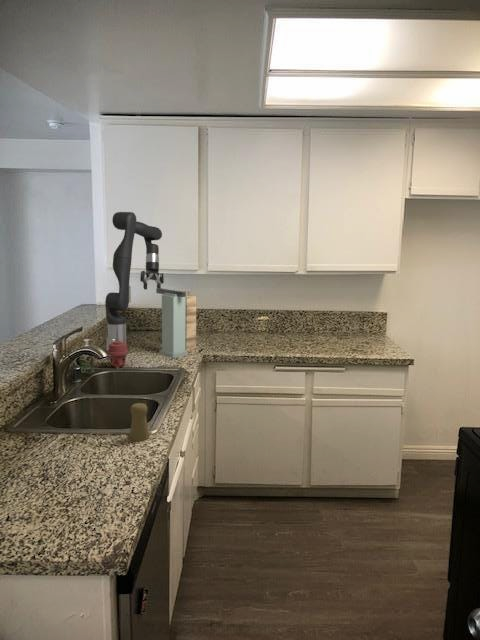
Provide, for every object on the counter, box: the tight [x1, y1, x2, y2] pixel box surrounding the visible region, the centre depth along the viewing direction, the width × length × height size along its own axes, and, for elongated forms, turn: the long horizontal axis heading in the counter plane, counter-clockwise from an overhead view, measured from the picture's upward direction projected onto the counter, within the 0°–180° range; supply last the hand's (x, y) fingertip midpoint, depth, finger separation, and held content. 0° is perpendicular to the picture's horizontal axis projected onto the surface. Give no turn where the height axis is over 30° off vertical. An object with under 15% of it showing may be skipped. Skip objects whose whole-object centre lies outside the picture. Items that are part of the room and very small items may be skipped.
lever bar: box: [155, 287, 187, 297], centre depth 256 cm, size 22×2×2 cm, turn 46°
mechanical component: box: [106, 341, 129, 369], centre depth 232 cm, size 12×10×10 cm
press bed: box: [185, 294, 197, 351], centre depth 273 cm, size 10×7×30 cm
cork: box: [129, 402, 150, 443], centre depth 151 cm, size 6×6×11 cm
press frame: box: [158, 293, 189, 359], centre depth 257 cm, size 12×10×33 cm
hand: (152, 290), depth 278 cm, fingers open, 8 cm apart
